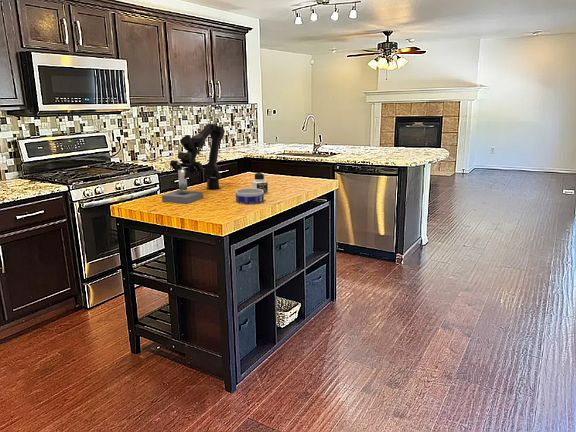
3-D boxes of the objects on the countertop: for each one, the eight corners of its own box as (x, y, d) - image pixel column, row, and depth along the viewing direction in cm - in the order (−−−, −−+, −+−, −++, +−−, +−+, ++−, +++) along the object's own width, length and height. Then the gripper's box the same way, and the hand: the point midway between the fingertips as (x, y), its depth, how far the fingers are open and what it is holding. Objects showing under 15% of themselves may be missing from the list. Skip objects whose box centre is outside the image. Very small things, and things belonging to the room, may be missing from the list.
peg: (187, 188, 248) (186, 169, 245) (186, 190, 244) (185, 170, 241) (179, 188, 247) (178, 169, 244) (178, 190, 243) (177, 170, 240)
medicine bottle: (256, 194, 259) (256, 174, 256) (252, 192, 265) (251, 172, 262) (267, 193, 262) (267, 173, 259) (263, 191, 268) (262, 171, 265)
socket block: (178, 195, 256) (178, 190, 255) (203, 197, 251) (202, 191, 250) (162, 201, 241) (161, 195, 241) (187, 203, 236) (187, 197, 235)
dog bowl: (246, 197, 253) (246, 187, 251) (269, 200, 245) (269, 189, 244) (230, 202, 240) (229, 191, 239) (253, 205, 233) (253, 194, 231)
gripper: (170, 146, 246) (159, 168, 239) (199, 147, 240) (189, 170, 233) (179, 158, 255) (169, 180, 248) (207, 159, 249) (198, 182, 242)
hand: (181, 178), depth 243 cm, fingers closed on peg, 4 cm apart
